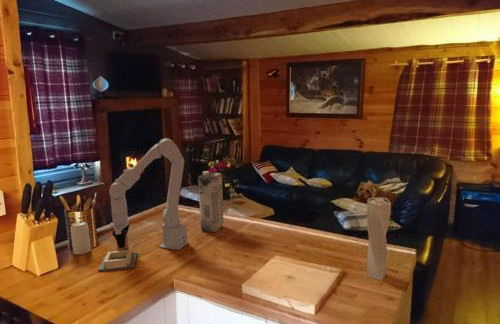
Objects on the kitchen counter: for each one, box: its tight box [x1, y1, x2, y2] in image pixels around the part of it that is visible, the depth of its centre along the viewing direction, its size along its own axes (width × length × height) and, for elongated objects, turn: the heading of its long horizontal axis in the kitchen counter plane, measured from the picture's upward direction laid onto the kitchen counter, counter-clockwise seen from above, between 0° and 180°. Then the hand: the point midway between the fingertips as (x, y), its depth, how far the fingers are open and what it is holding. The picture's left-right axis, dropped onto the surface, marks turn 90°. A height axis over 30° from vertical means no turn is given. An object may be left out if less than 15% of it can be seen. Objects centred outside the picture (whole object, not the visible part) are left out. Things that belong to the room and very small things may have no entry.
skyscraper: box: [365, 196, 392, 282], centre depth 120 cm, size 8×8×28 cm
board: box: [98, 249, 138, 272], centre depth 137 cm, size 12×12×3 cm
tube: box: [115, 230, 130, 251], centre depth 147 cm, size 4×4×8 cm
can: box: [70, 220, 91, 256], centre depth 147 cm, size 6×6×12 cm
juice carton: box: [197, 170, 224, 233], centre depth 168 cm, size 9×10×27 cm
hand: (122, 245), depth 147 cm, fingers closed on tube, 4 cm apart
